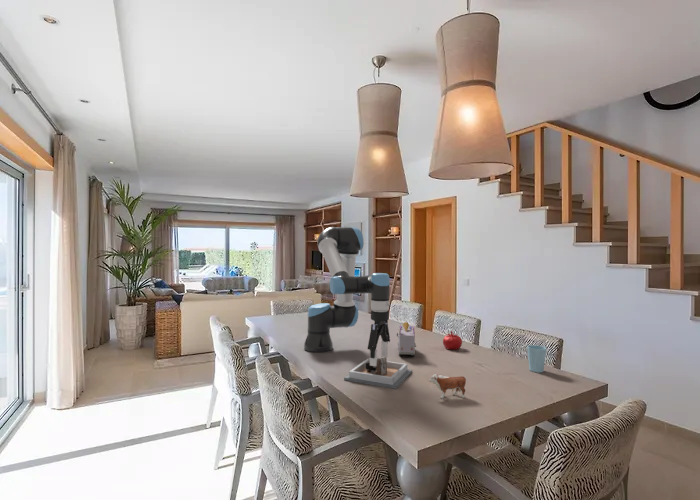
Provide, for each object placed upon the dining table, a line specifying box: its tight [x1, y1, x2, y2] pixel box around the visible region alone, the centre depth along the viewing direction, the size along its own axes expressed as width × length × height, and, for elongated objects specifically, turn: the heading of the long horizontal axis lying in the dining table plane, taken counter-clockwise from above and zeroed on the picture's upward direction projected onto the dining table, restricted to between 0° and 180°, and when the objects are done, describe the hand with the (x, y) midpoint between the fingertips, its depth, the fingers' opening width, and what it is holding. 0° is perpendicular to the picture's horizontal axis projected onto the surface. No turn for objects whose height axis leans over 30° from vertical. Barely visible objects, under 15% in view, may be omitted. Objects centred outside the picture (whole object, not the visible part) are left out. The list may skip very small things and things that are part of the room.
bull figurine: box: [428, 373, 466, 400], centre depth 136 cm, size 4×13×8 cm, turn 94°
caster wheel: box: [366, 357, 388, 375], centre depth 158 cm, size 7×11×10 cm
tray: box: [343, 358, 413, 390], centre depth 158 cm, size 22×22×4 cm
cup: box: [526, 344, 547, 374], centre depth 168 cm, size 8×8×10 cm
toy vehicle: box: [396, 321, 417, 357], centre depth 194 cm, size 9×20×15 cm, turn 174°
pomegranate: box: [442, 330, 463, 350], centre depth 204 cm, size 10×10×9 cm
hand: (379, 361), depth 158 cm, fingers open, 13 cm apart
